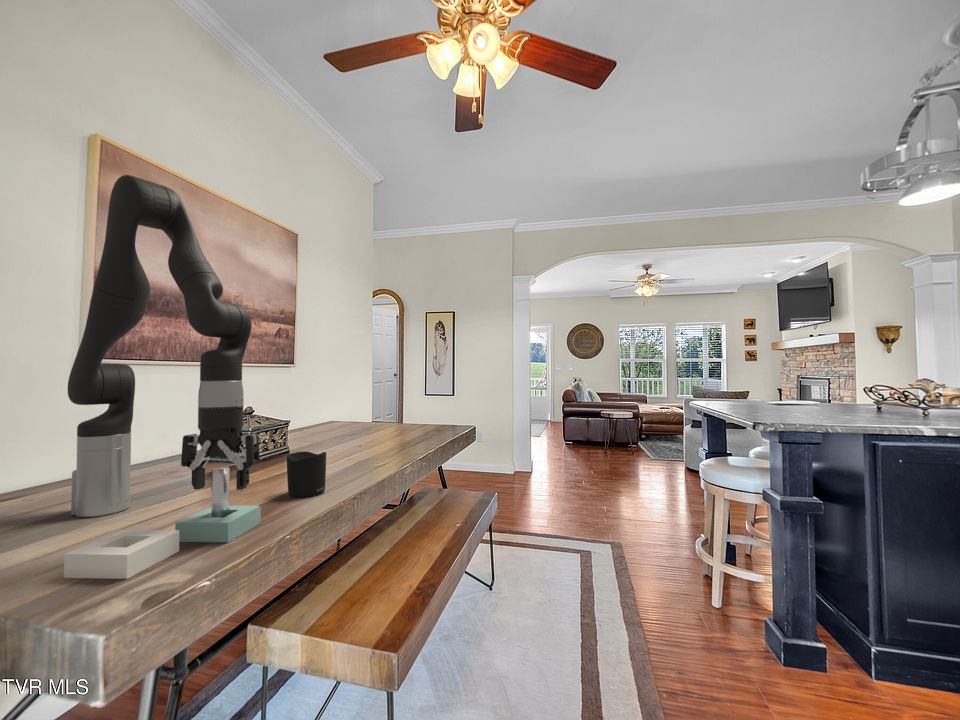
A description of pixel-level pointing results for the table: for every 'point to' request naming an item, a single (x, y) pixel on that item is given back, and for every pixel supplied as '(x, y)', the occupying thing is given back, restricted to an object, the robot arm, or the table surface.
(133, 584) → the table surface
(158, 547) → the socket block
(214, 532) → the block
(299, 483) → the pen holder
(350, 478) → the table surface
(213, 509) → the gray rectangular bar
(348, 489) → the table surface
